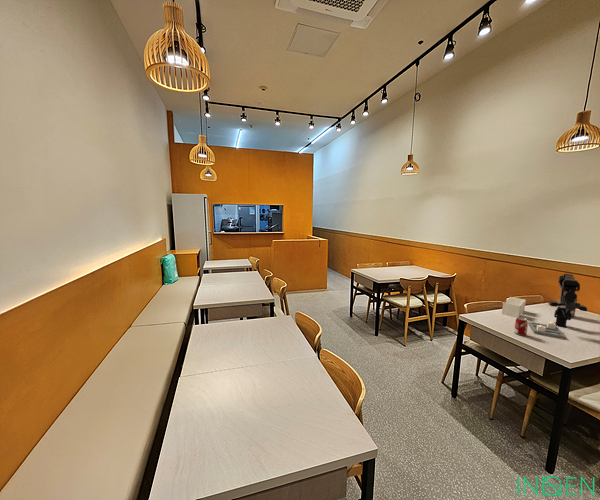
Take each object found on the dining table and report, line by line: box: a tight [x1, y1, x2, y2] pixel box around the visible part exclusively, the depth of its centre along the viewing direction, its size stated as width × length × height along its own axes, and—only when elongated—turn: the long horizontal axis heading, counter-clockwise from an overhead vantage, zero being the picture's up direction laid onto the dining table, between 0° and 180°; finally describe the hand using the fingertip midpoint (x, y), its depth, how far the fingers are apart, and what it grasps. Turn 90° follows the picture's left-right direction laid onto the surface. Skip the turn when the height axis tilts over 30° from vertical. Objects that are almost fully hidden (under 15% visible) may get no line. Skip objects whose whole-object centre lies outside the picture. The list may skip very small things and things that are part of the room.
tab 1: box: [536, 325, 546, 332], centre depth 179 cm, size 3×4×5 cm
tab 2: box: [546, 321, 557, 329], centre depth 185 cm, size 3×4×5 cm
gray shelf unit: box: [528, 321, 566, 340], centre depth 182 cm, size 19×16×2 cm
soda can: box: [513, 316, 529, 336], centre depth 177 cm, size 7×7×12 cm
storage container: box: [501, 296, 527, 319], centre depth 217 cm, size 25×11×11 cm, turn 129°
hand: (565, 316), depth 180 cm, fingers closed
